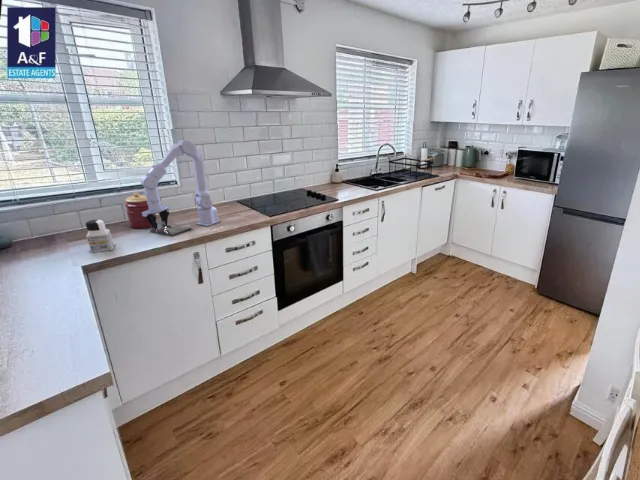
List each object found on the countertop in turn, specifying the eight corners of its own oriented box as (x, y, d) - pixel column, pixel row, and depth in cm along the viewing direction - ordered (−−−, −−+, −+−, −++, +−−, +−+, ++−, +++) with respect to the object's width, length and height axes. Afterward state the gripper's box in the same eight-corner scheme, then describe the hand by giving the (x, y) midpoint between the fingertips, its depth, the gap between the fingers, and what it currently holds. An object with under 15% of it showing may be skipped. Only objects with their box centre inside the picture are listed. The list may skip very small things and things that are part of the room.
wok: (161, 227, 195) (159, 219, 193) (176, 229, 192) (174, 221, 190) (151, 230, 190) (149, 222, 188) (166, 232, 187) (164, 224, 185)
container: (91, 252, 164) (81, 224, 158) (94, 246, 170) (84, 219, 164) (112, 250, 167) (103, 222, 161) (114, 244, 173) (105, 217, 167)
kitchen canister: (154, 228, 196) (145, 195, 188) (126, 229, 193) (117, 195, 185) (161, 221, 207) (153, 189, 199) (135, 222, 204) (126, 190, 196)
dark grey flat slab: (169, 225, 201) (169, 223, 200) (191, 229, 196) (191, 227, 196) (150, 232, 191) (150, 229, 190) (172, 236, 186) (172, 234, 186)
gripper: (160, 196, 192) (166, 222, 198) (134, 202, 180) (141, 229, 186) (170, 198, 190) (176, 223, 196) (145, 204, 178) (152, 231, 184)
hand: (160, 226), depth 191 cm, fingers closed on wok, 6 cm apart
